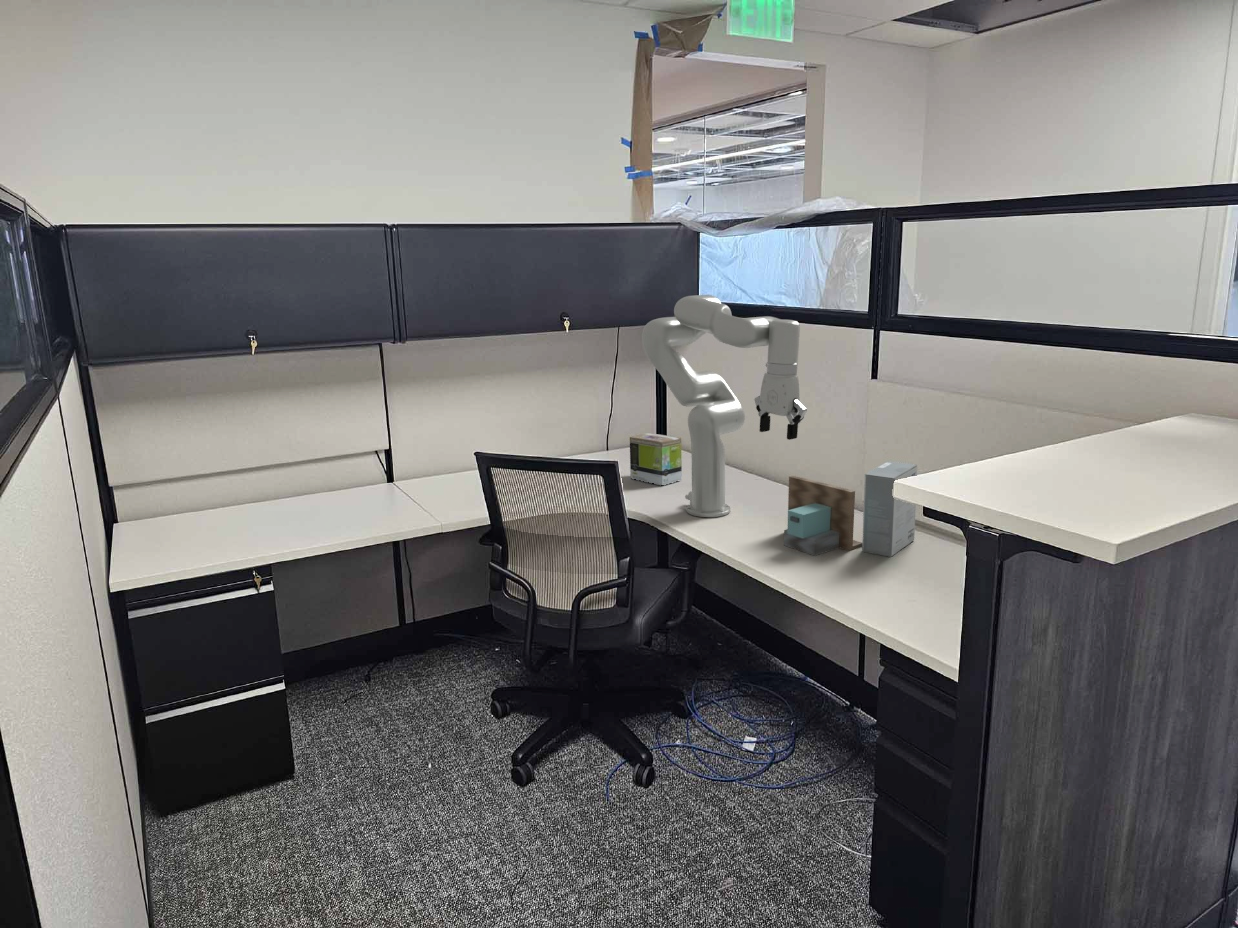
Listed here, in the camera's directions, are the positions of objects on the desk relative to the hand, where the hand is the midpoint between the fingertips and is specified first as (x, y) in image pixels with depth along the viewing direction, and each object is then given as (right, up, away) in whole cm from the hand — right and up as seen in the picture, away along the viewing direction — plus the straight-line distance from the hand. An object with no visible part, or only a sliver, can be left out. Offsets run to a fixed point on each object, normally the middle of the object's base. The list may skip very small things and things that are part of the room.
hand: (777, 434), depth 213 cm
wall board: (+8, -27, -3) cm, 29 cm away
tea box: (-29, -13, +61) cm, 69 cm away
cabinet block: (+6, -24, -8) cm, 26 cm away
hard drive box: (+26, -28, -8) cm, 39 cm away
